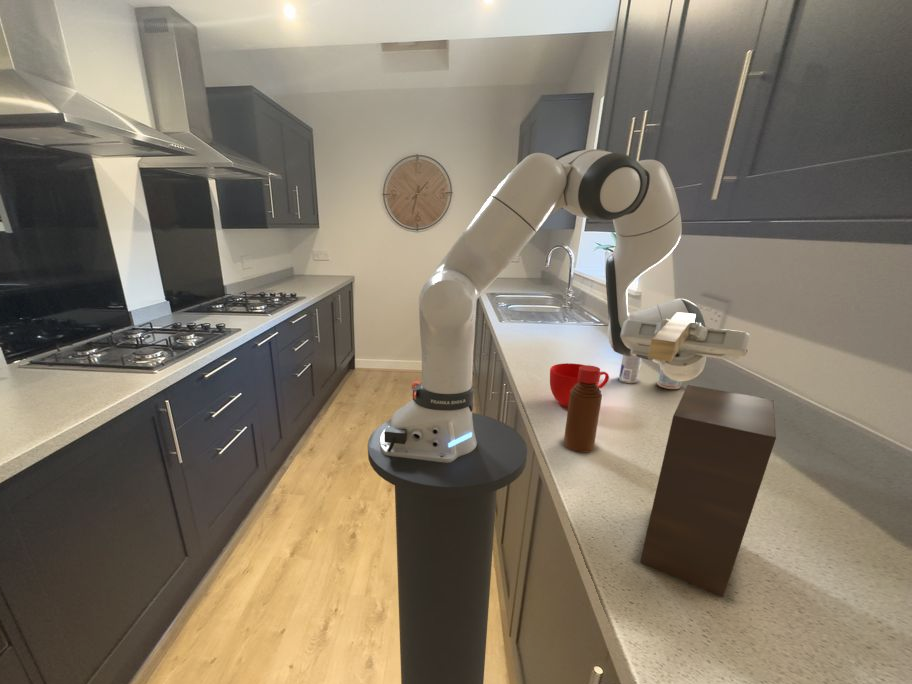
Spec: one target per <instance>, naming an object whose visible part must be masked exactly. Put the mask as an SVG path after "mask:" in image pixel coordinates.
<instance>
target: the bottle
mask: <svg viewBox="0 0 912 684" xmlns="http://www.w3.org/2000/svg"><path fill="white" fill-rule="evenodd" d="M598 385H599V384H598ZM598 385H597V384H596V383H592V384H590V383H583V382H580V381H579V382H578V383H577V384H576V385H575V386H574V387H572V390H571V391H570V398H569V405H568V407H567V413H566V420H565V421H566V422H565V430H564V436H563V446H564V447H565V448H567V449H568V450H570V451H574V452H577V453H589V452H592V451H593V450H594V448H595V443H596V436H597V430H598V424H599V417H600V411H601V404H602V397H603V393H602V390H601V388H600V389H599V387H598Z"/></svg>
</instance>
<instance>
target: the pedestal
mask: <svg viewBox="0 0 912 684" xmlns="http://www.w3.org/2000/svg"><path fill="white" fill-rule="evenodd" d="M776 427H777V426H776V412H775V400H774V399H772V398H767V397H766V398H765V397H760V396H754V395H748V394H743V393H738V392H732V391H726V390H719V389H714V388H709V387H701V386H696V385H690V384H687V385H686V388H685V390H684V391H683V394H682V397H681V398H680V400H679V403H678V405H677V407H676V409H675V411H674V414H673V416H672V420H671V424H670V428H669V432H668V438H667V442H666V446H665V450H664V455H663V459H662V464H661V467H660V472H659V476H658V481H657V485H656V490H655V494H654V498H653V503H652V508H651V512H650V515H649V519H648V520H649V521H648V525H647V529H646V534H645V538H644V542H643V546H642V551H641V556H640V559H639V562H640V563H641V564H644V565H645V566H649V567H651V568H653V569H655V570H658V571H660V572H663V573H665V574H668V575H670V576H673V577H675V578H677V579H679V580H682V581H685V582H687V583H689V584H692V585H694V586H696V587H698V588H701V589H703V590H706V591H709V592H711V593H714V594H715V595H717V596H721V597H724V596H725V593H726V591H727V587H728V585H729V581H730V579H731V575H732V572H733V570H734V568H735V567H734V566H735V564H736V560H737V557H738V555H739V552H740V548H741V545H742V542H743V539H744V537H745V533H746V531H747V527H748V524H749V521H750V518H751V515H752V512H753V509H754V506H755V503H756V500H757V497H758V494H759V491H760V489H761V486H762V482H763V479H764V476H765V473H766V470H767V467H768V464H769V461H770V459H771V456H772V455H771V454H772V452H773V449H774V446H775V443H776V440H777V429H776Z"/></svg>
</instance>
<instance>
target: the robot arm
mask: <svg viewBox="0 0 912 684" xmlns="http://www.w3.org/2000/svg"><path fill="white" fill-rule="evenodd" d="M560 209H561V210H565V211H567V212H569V213H570V214H571V215H573V216H577V217H579V218H585V219H589V220H592V221H595V222H609V221H612V223H613V224H612V225H613V228H614V232H615V236H616V241H615V246H614V250H613V251H612V253H611V254H610V255H609V256H608V257H607V258H606V262H605V289H606V301H607V312H608V327H607V339H608V343H609V346H610V347H611V349H612V350H613V352H614V353H617V354H619V355H622V356H623V355H624V356H628V357H629V356H632V355H633V356H636V357H639V358H642V359H644V360H647V361H650V362H654V363H656V364H657V365H658V366H659V368H660V369H661V370H662V372H663V373H664V374H665V375H666V376H667V377H668V378H670V379H672V380H675V381H682V382H688V381H691V380H693V379H695V378H697V377H698V376H699V375H700V374H702V372H703V371H704V369H705V365H706V363H707V358H715V359H721V360H738V359H739V358H741V357H745V356H746V355H747V354H748V345H749V342H750V339H751V338H750V337H751V334H750V333H748V332H746V331H743V330H733V329H725V328H716V327H707V326H706V323H705V319H704V316H703V314H702V312H701V310H700V308H699V306H697V304H695V303H693V302H691V301H690V300H688V299H685V298H682V297H680V298H676V299H672V300H668V301H665V302H662V303H657V304H655V305H652V306H649V307H646V308H642V309H639V310H636V311H635V310H634V311H629V308H628V307H629V306H628V289H629V287H630V286H631V285H632V284H633V282H635V280H637V279H639V277H640V276H641V275H643V274H645V273H646V272H648V271H649V270H650V269H652V268H653V267H655V266H656V265H658V264H659V263H661V262H662V261H664V260H665V259H666V258H667V257H668V256H669V255H670V254H671V253H673V251H674V249H676V247H677V245H678V244H679V241H680V239H681V237H682V233H683V232H682V230H683V227H682V226H683V225H682V224H683V223H682V215H681V210H680V203H679V200H678V197H677V193H676V190H675V186H674V184H673V181H672V179H671V177H670V175H669V172H668V170H667V169H666V167H665V165H664V164H663V163H662V162H661V161H659V160H656V159H642V160H641V159H640V160H636V159H635V158H633V157H632V156H631V155H628V154H625V153H622V152H611V151H607V150H604V149H600V148H598V149H596V148H593V149H592V148H590V149H589V148H588V149H573V150H569V151H567V152H565V153H563V154H561V155H559V156H558V157H554V156H551V155H550V154H547V153H543V152H534V153H531V154H529V155H527V156H526V157H524V158H523V159H522V160H521V161H520V162H519V163H518V164H517V165H516V166H515V167H514V168H513V169H511V171H510V172H509V173H508V174H507V175H506V176H505V177H504V179H503V180H502V181H501V182H500V183H499V184H498V185H497V186H496V187H495V189H494V190H493V192H492V193H491V194H490V196H489V197H488V198H487V199H486V201H485V202H484V204H483V205H482V206H481V208H480V209H479V210H478V212H477V213H476V215H475V216H474V217H473V218H472V220H471V221H470V222H469V224H468V225H467V227H466V228H465V229H464V231H463V232H462V233H461V235H460V236H459V237H458V238H457V239H456V241H455V242H454V244H453V245H452V246H451V248H450V249H449V250H448V251H447V253H446V255H445V256H444V257H443V258H442V260H441V261H440V263H439V264H438V265H437V267H436V268H435V269H434V271H433V272H432V273H431V275H429V277H428V278H427V281H426V282H425V283H424V284H423V286H422V288H421V291H420V292H419V295H418V296H419V297H418V314H419V317H418V318H419V333H420V346H421V382H420V381H419V380H414V381H413V382H411V389H412V400H410V401H409V402H407V403H405V404H404V405H402V406H401V407H399V408H398V409H397V410H396V411H394V413H393V414H392V417H391V418H390V420H391V422H390V426H389V427H387V428H386V429H385V430H384V431H383V433H382V435H381V438H380V449H381V451H382V453H383V454H384V455H387V456H395V457H403V458H411V459H419V460H427V461H435V462H443V463H450V462H452V461H454V460H455V459H456V458H457V457H459V456H462V455H465V454H467V453H469V452H471V451H473V450H474V449H475V447H476V446H477V440H476V437H475V433H474V427H473V419H472V413H473V410H474V406H475V405H474V404H475V388H474V384H473V370H474V369H473V368H474V347H475V336H476V321H477V320H476V319H477V304H478V303H477V302H478V298H479V297H480V296H481V295H482V294H483V293H484V292H485V291H486V290H487V289H488V288H489V286H490V285H492V284H493V282H495V280H496V279H498V277H499V276H500V275H501V274H502V273H503V272H505V270H506V269H508V267H509V266H510V265H511V264H512V263H513V261H514V260H515V259H516V258H517V257H518V255H519V254H520V253H521V252H522V250H523V249H524V248H525V247H526V246H527V244H528V243H529V242H530V241H531V240H532V238H533V237H534V236H535V234H536V233H537V232H539V229H541V228H542V226H543V225H544V223H545V221H547V219H549V217H551V216H552V214H554V213H555V212H557V211H558V210H560ZM677 312H679V313H691V314H696V316H695V320H694V322H691V324H690V328H689V335H688V337H687V338H686V340H685V341H684V343H683V344H682V346H681V347H680V349H679V350H678V352H677V353H676V355H675V356H674V358H673V359H672V361H671V362H670V361H663V360H656V359H650V358H648V355H649V350H650V345H651V340H652V338H653V337H654V336H655V335H656V334H657V333H658V332H659V331H660V330H661V329H662V328H663V327H664V326H665V325H666V324H667V322H668V321H669V320H670V319H671V318H672V317H673V316H674V315H675V314H676V313H677Z"/></svg>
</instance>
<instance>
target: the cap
mask: <svg viewBox="0 0 912 684" xmlns="http://www.w3.org/2000/svg"><path fill="white" fill-rule="evenodd" d="M582 365H583V366H580V367H579V372H578V380H579V381H580V382H583V383H590V384H592V383H597V382H598V380H599V374H600V372H601V369H600V367H598V366H595V365H589V364H587V365H586V364H582ZM599 381H600V380H599Z"/></svg>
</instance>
